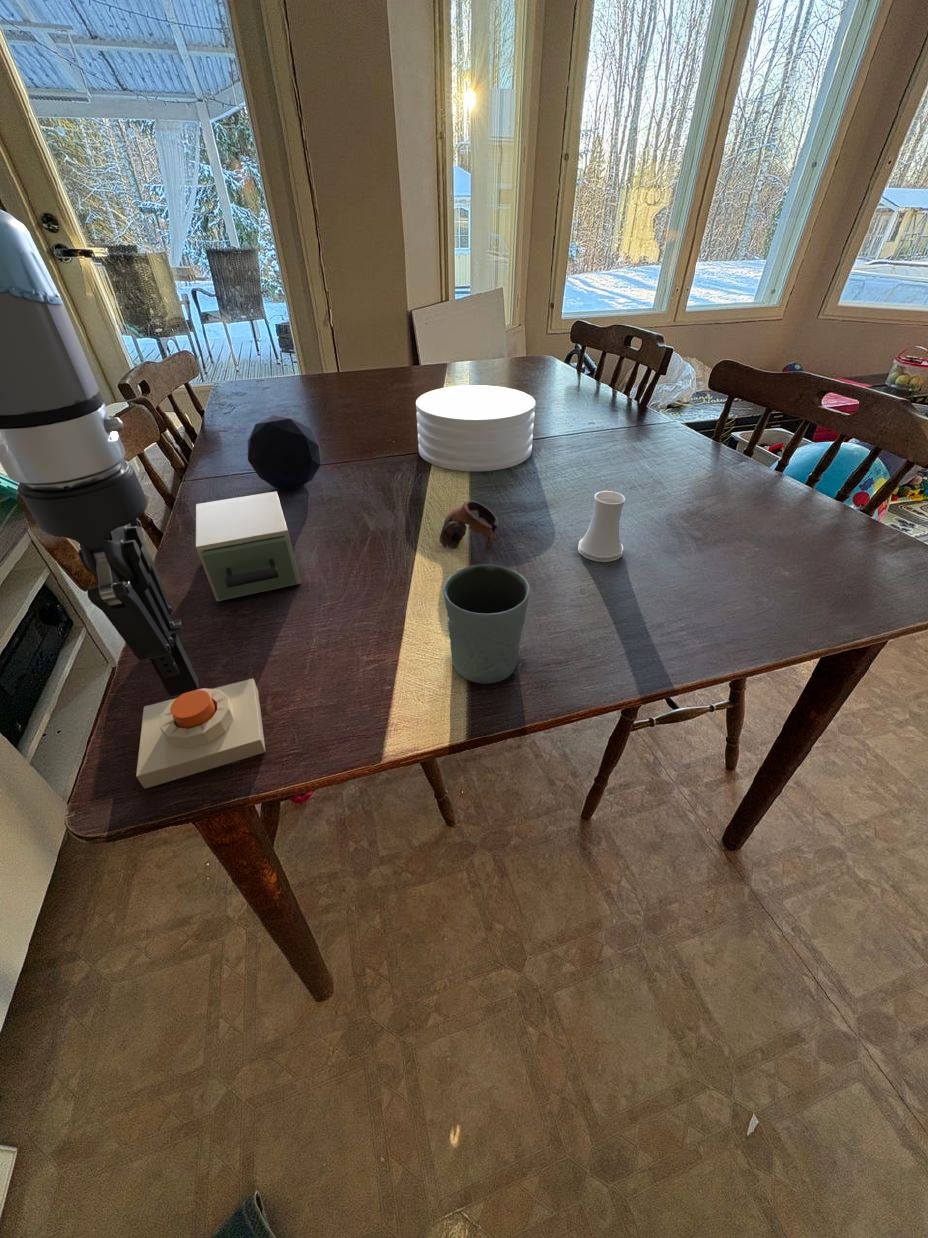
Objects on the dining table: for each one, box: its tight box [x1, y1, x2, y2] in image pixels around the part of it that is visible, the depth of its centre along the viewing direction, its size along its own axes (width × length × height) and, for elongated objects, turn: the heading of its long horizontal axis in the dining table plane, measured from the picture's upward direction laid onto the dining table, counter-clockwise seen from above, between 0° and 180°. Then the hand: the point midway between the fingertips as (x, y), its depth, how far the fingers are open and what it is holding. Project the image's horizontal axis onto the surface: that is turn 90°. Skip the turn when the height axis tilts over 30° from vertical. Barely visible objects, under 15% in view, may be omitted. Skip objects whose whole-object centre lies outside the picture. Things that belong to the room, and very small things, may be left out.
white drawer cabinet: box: [195, 490, 302, 602], centre depth 82 cm, size 15×13×10 cm
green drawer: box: [202, 536, 298, 601], centre depth 79 cm, size 18×11×8 cm, turn 22°
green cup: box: [442, 563, 531, 685], centre depth 63 cm, size 10×10×12 cm
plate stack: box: [415, 384, 536, 472], centre depth 123 cm, size 28×28×12 cm
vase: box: [577, 490, 626, 563], centre depth 86 cm, size 8×8×10 cm
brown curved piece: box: [439, 500, 500, 550], centre depth 89 cm, size 12×10×8 cm
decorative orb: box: [247, 414, 322, 490], centre depth 107 cm, size 14×15×15 cm
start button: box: [170, 689, 216, 729], centre depth 55 cm, size 4×4×2 cm
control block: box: [135, 677, 266, 790], centre depth 57 cm, size 12×10×4 cm
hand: (184, 688), depth 53 cm, fingers closed
